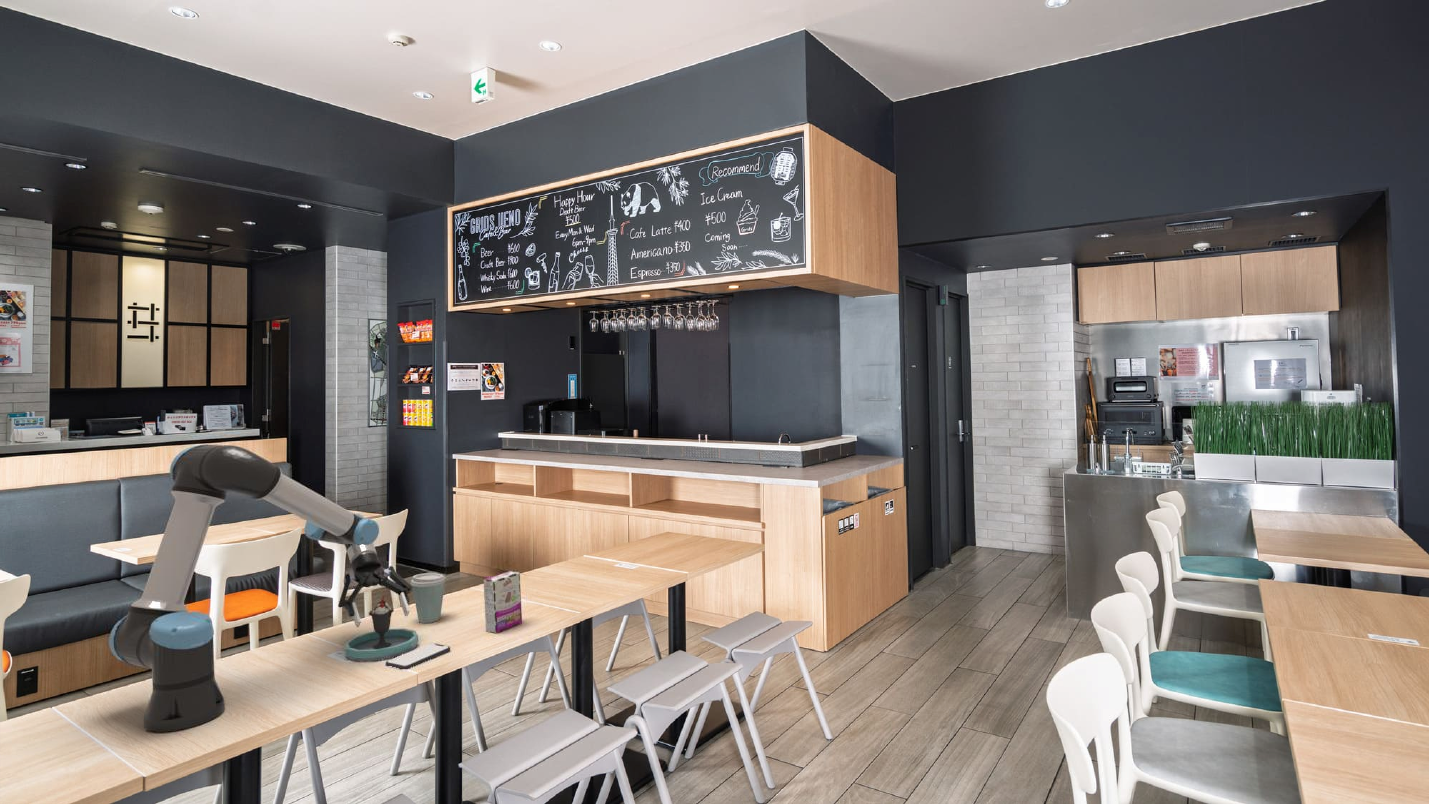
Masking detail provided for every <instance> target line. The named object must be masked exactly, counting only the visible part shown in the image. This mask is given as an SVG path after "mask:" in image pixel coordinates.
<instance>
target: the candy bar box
mask: <svg viewBox="0 0 1429 804" xmlns="http://www.w3.org/2000/svg"><path fill="white" fill-rule="evenodd" d="M483 594H484V595H483V596H484V613H485V615H484V617H485V630H486V631H485V632H487V631H490V632H489V633H491V632H494V633H493V634H499V633H501V632H503V630H504V631H506V630H509V629H510V628H513V627H512V626H514V627H516V626H518V625H521V624H523V615H522V611H523V610H522V596H521V595H522V594H521V573H520V572H518V571H511V570H510V571H506V572H504V573H501V574H497V575H495V576H494V575H493V576H491V577H488V578H485V579H483ZM505 629H506V630H505ZM500 631H501V632H500ZM498 632H499V633H498Z"/></svg>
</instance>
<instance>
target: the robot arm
mask: <svg viewBox="0 0 1429 804" xmlns="http://www.w3.org/2000/svg"><path fill="white" fill-rule="evenodd" d="M169 476H170V478H171V480H172V482H173V484H172V485H173V486H172V487H171V491H170V493H171V495H172V497H173V498H174V500H175V502H174V504H173V508H172V510H171V513H170V516H169V519H168V521H167V524H166V527H165V529H164V530H165V531H164V533H163V536H162V538H161V541H160V544H159V547H158V550H157V554H156V556H155V559H154V560H153V564H152V566H151V567H152V568H151V570H150V573H149V574H148V579H147V582H146V583H145V587H144V590H143V593H142V595H141V597H140V599H138V600H136V601H134V602H133V603H131V604H130V607H129V610H128V612H127V615H125V616H124V617H122V618H121V619H120V620H118V621H117V623H115V625H114V626H113V628H112V630H111V631H110V634H109V638H108V645H109V648H110V651H111V654H113V656H115V658H116V659H117V660H119V661H122V663H125V664H126V665H129V666H133V667H141V668H145V669H149V670H151V678H152V679H151V681H152V692H151V695H150V698H149V701H148V705H147V707H146V710H145V713H144V716H143V724H144V725H143V727H144V730H146V729H147V730H148V731H147V730H146V731H147V732H151V731H155V732H154V733H157V732H156V731H159V732H158V733H161V732H160V731H170V732H176V731H181V729H182V730H185V729H189V728H193V727H196V726H199V725H202V724H205V723H207V722H209V721H212V720H213V719H214V720H215V719H216V718H217V717H219V716H220V715H221V714H222V713H224V712H225V709H226V704H225V698H224V695H223V694H222V691H221V689H220V687H219V684H218V682H217V681H216V677H215V653H214V652H215V651H214V650H215V649H214V635H215V630H214V627H213V621H212V618H211V617H210V616H209V615H208V614H206V613H204V612H201V611H190V612H189V608H188V607H187V605H186V604H185V599H186V596H187V593H188V590H189V587H190V584H191V582H192V579H193V575H194V572H195V569H196V566H197V563H198V560H199V558H200V555H201V551H202V548H203V546H204V543H205V540H206V537H207V533H208V530H209V527H210V525H211V522H212V519H213V516H214V512H215V509H216V507H217V506H219V505H221V504H223V503H225V501H226V498H227V495H228V492H231V493H235V494H241V495H243V496H247V497H249V498H251V499H254V500H255V501H260V500H265V501H267V502H269V503H270V504H272V505H275V506H277V507H278V508H281V509H282V510H284V511H286V512H288V513H290V514H292V515H295V516H296V517H298V518H300V519H302V520H304V521H306V522H305V526H304V534H305V536H306V538H308V539H309V540H310V539H311V540H314V541H321V542H327V543H334V544H337V545H344V547H345V550H346V553H347V556H348V559H349V563H350V566H351V569H352V572H353V574H352V575H351V574H349V573H345V575H344V577H343V584H344V585H343V588H342V591H341V595H340V599H339V601H338V605H337V606H338V608H344V609H345V610H347V613H348V616H349V617H350V618H351V617H352V619H353V621H354V625H355V627H356V628H359V627H360V626H361V623H362V620H361V616H360V614H359V611H358V608H357V603H356V602H354V601H355V600H356V598H357V596H358V595H359V593H360V591H362V589H363V588H369V587H376V586H378V585H379V586H381V587H384V588H385V589H388V590H389V591H391V592H393V593H395V594H397V595H399V596H398V600H399V603H400V605H401V608H402V612H403V615H404V616H405V617H408V616H409V614H410V612H411V609H410V606H409V603H410V598H409V595H408V594H410V593H411V591H412V590H413V587H412V585H411V583H409V582H407V580H405V579H404V578H403V577H402V576H401V575H400V574H399V573H397V572H396V570H395V568H394V566H393V565H391V566H389V567H388V568H386V569H383V567H382V566H381V561H380V559H379V556H378V554H377V553H378V552H377V550H376V547H375V545H374V542H375V541H377V538H378V537H379V533H380V527H379V524H378V522H377V521H375V520H374V519H371V518H369V517H368V518H367V517H364V516H363V515H362V514H360V513H353V512H351V511H350V510H348V509H346V508H344V507H342V506H341V505H339V504H338V503H335V502H333V501H331V500H330V499H328V498H326V497H324V496H322V494H319V493H318V492H316V491H314V490H312V489H311V488H308V487H306V486H305V485H303V484H301V483H300V482H298V481H296V480H294V479H292V478H291V477H288V476H287V475H285V474H283V471H282V469H281V467H280V466H278V465H276V464H274V463H272V462H271V461H269V460H267V459H265V458H264V457H262V456H260V455H258V454H257V453H254V452H253V451H250V450H249V449H246V448H244V447H241V446H237V445H231V444H230V445H229V444H225V445H219V444H209V443H207V444H199V445H192V446H189V447H187V448H184V449H183V450H182V451H180V452H179V453H178V454H177V455H175V457H174V458H173V460H172V462H171V464H170V467H169ZM353 581H355V582H356V583H357V585H356V586H355V588H354V590H353V591H352V593H351V595H350V596H349V597H348V599H347V600H346V598H347V594H348V590H349V588H350V585H351V583H352V582H353Z"/></svg>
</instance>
